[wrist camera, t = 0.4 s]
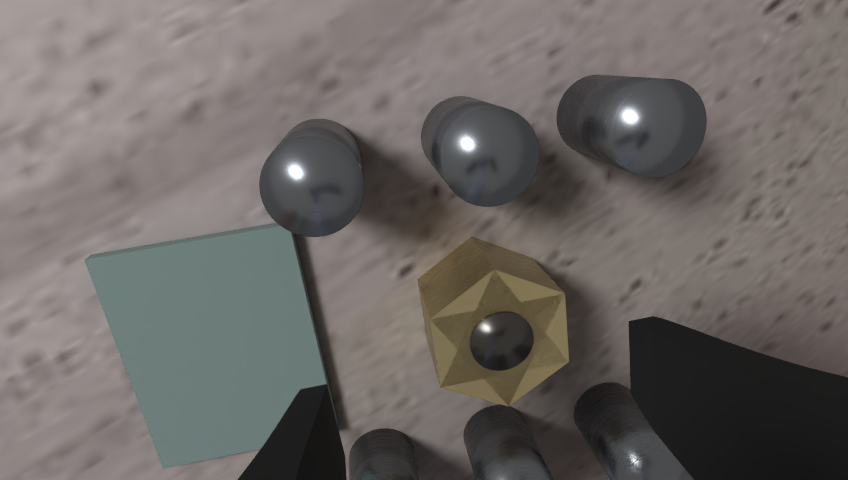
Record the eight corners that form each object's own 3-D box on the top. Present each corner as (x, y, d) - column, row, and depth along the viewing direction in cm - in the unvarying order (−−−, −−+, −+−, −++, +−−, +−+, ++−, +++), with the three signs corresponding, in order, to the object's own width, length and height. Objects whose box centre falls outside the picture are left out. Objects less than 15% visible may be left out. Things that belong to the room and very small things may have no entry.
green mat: (338, 425, 22) (338, 432, 22) (167, 459, 22) (163, 468, 21) (290, 220, 19) (289, 224, 19) (91, 254, 19) (84, 259, 18)
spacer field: (634, 429, 25) (693, 506, 20) (355, 488, 24) (357, 582, 19) (629, 69, 19) (708, 71, 15) (271, 125, 18) (247, 145, 14)
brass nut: (538, 345, 23) (571, 394, 19) (431, 366, 22) (445, 420, 19) (529, 225, 21) (563, 257, 17) (412, 246, 20) (424, 283, 17)
